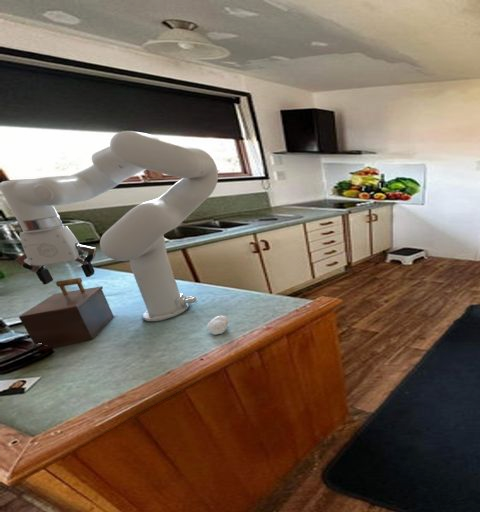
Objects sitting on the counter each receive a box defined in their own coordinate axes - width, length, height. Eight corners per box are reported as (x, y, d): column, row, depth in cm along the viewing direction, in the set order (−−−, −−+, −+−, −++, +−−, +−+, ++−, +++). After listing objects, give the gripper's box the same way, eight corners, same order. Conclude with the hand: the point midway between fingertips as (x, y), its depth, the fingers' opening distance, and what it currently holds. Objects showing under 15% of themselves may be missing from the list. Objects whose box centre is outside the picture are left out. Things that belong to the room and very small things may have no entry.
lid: (55, 296, 84) (47, 280, 83) (103, 288, 89) (96, 273, 87) (19, 319, 72) (9, 301, 70) (77, 308, 76) (69, 291, 74)
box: (68, 325, 87) (53, 297, 84) (114, 316, 92) (102, 289, 88) (38, 350, 76) (19, 319, 72) (92, 339, 80) (77, 308, 76)
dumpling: (235, 327, 83) (232, 318, 81) (221, 339, 79) (217, 330, 77) (217, 320, 85) (214, 311, 83) (203, 332, 81) (199, 322, 79)
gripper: (-14, 232, 71) (21, 290, 77) (74, 222, 77) (100, 277, 83) (9, 226, 77) (40, 280, 83) (88, 217, 83) (111, 268, 89)
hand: (70, 278), depth 83 cm, fingers open, 9 cm apart
